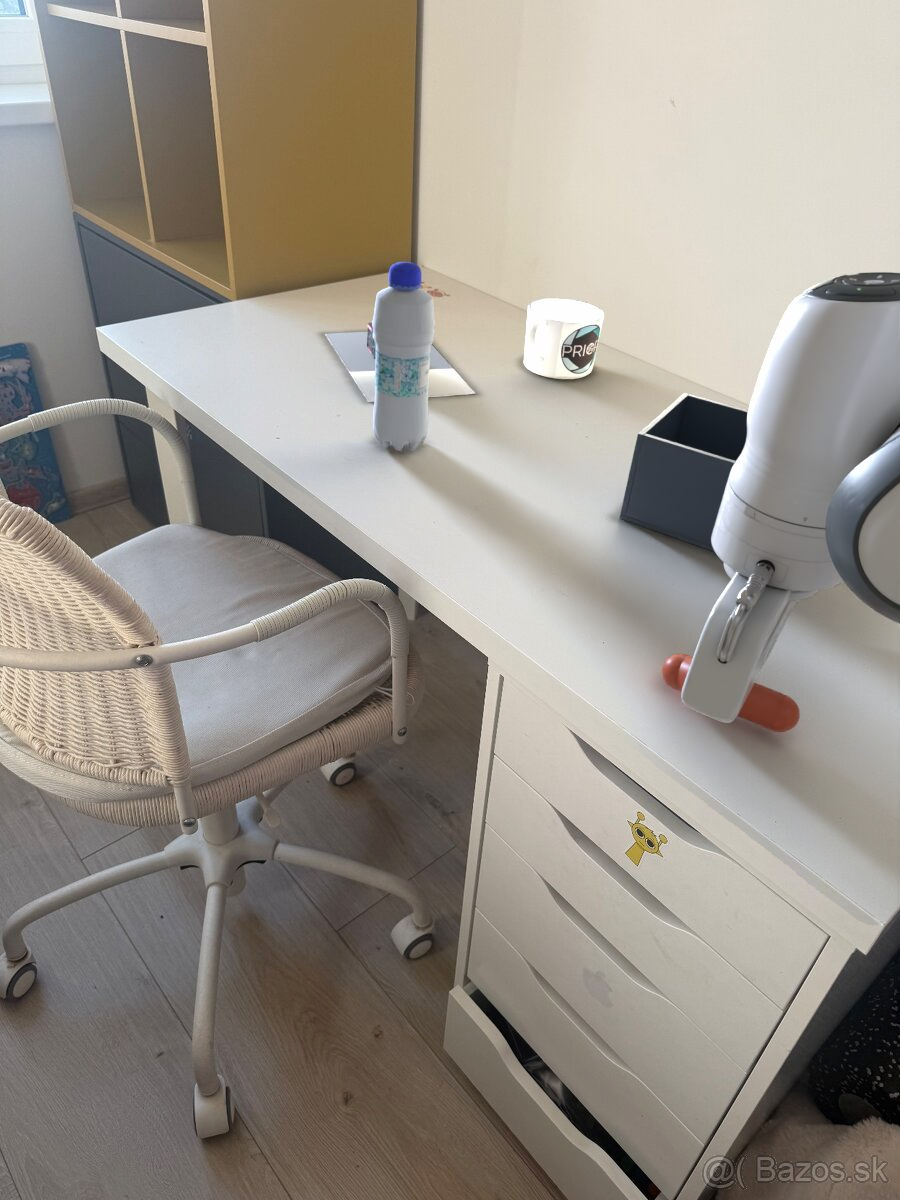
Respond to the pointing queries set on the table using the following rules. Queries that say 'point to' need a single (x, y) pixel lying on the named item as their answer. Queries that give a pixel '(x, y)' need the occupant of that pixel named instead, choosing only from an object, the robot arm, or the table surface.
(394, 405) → the bottle
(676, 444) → the bin
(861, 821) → the table surface
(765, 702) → the orange round-ended cylinder
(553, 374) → the mug
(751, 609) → the robot arm
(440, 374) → the shiny metal sheet
